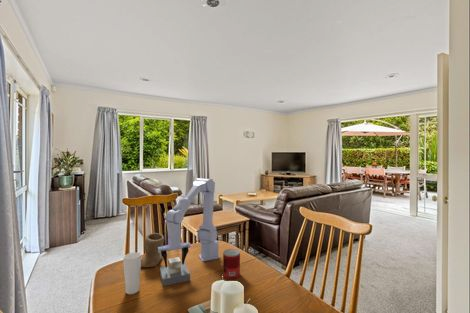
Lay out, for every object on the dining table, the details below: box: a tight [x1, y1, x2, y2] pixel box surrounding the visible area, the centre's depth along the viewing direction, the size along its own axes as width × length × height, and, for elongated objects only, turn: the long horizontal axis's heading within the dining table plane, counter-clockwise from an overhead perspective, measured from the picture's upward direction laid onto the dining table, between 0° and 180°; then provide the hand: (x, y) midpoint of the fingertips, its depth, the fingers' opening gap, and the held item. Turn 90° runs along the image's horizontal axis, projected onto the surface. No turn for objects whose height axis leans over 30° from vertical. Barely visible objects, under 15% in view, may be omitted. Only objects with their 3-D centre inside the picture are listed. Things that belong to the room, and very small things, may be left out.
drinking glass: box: [123, 251, 142, 295], centre depth 99 cm, size 7×7×15 cm
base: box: [159, 262, 191, 287], centre depth 111 cm, size 12×12×3 cm
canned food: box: [222, 248, 241, 280], centre depth 112 cm, size 8×8×11 cm
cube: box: [167, 256, 182, 274], centre depth 111 cm, size 5×5×5 cm
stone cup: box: [141, 232, 165, 268], centre depth 126 cm, size 15×12×15 cm
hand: (174, 265), depth 111 cm, fingers open, 7 cm apart
